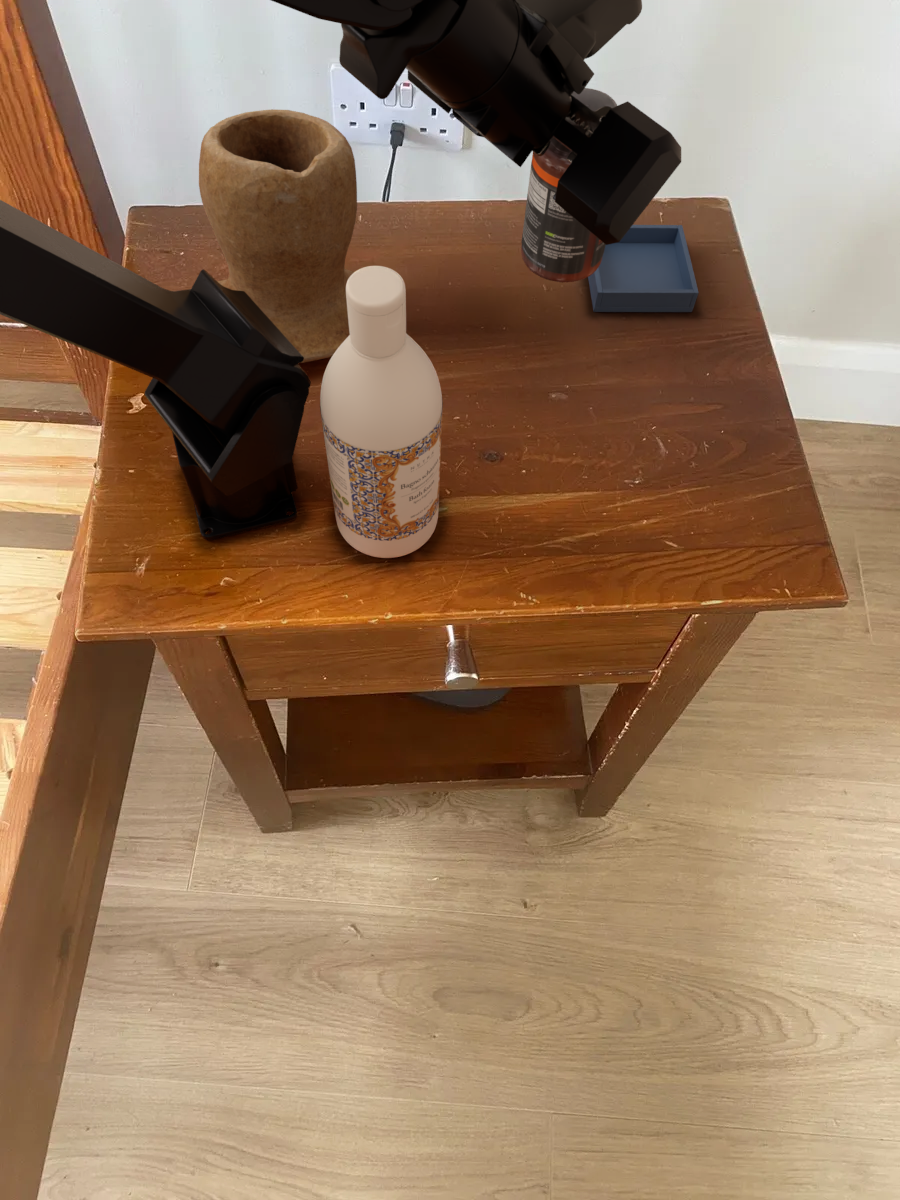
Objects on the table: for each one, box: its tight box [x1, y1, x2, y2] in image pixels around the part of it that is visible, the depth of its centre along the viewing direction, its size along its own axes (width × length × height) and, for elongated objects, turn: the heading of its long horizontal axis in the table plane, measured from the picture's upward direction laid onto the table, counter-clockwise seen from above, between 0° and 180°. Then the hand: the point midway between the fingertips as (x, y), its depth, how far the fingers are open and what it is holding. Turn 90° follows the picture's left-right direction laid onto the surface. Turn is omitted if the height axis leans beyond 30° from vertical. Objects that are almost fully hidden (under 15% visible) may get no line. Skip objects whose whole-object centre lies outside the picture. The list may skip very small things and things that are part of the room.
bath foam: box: [319, 265, 444, 559], centre depth 52 cm, size 7×7×20 cm
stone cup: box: [198, 108, 358, 364], centre depth 62 cm, size 15×12×15 cm
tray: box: [587, 224, 699, 313], centre depth 72 cm, size 8×8×2 cm
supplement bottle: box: [520, 87, 618, 284], centre depth 59 cm, size 6×6×11 cm
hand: (590, 168), depth 59 cm, fingers closed on supplement bottle, 6 cm apart
